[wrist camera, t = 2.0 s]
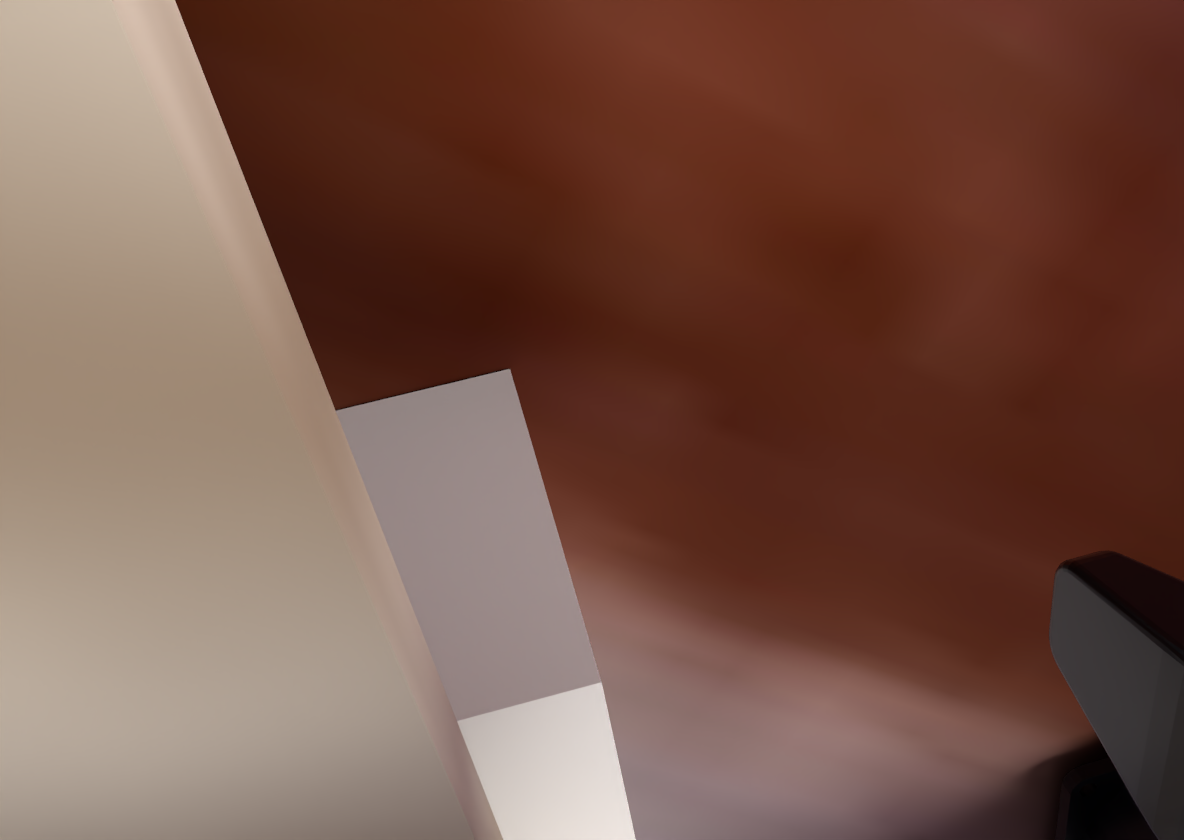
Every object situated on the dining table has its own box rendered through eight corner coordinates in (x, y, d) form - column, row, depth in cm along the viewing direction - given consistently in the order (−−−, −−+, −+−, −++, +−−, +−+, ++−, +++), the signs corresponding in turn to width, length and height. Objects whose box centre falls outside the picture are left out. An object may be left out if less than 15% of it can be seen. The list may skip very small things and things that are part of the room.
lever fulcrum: (557, 576, 22) (653, 924, 15) (68, 702, 21) (-55, 1130, 15) (509, 368, 19) (602, 682, 13) (-52, 504, 19) (-272, 917, 12)
